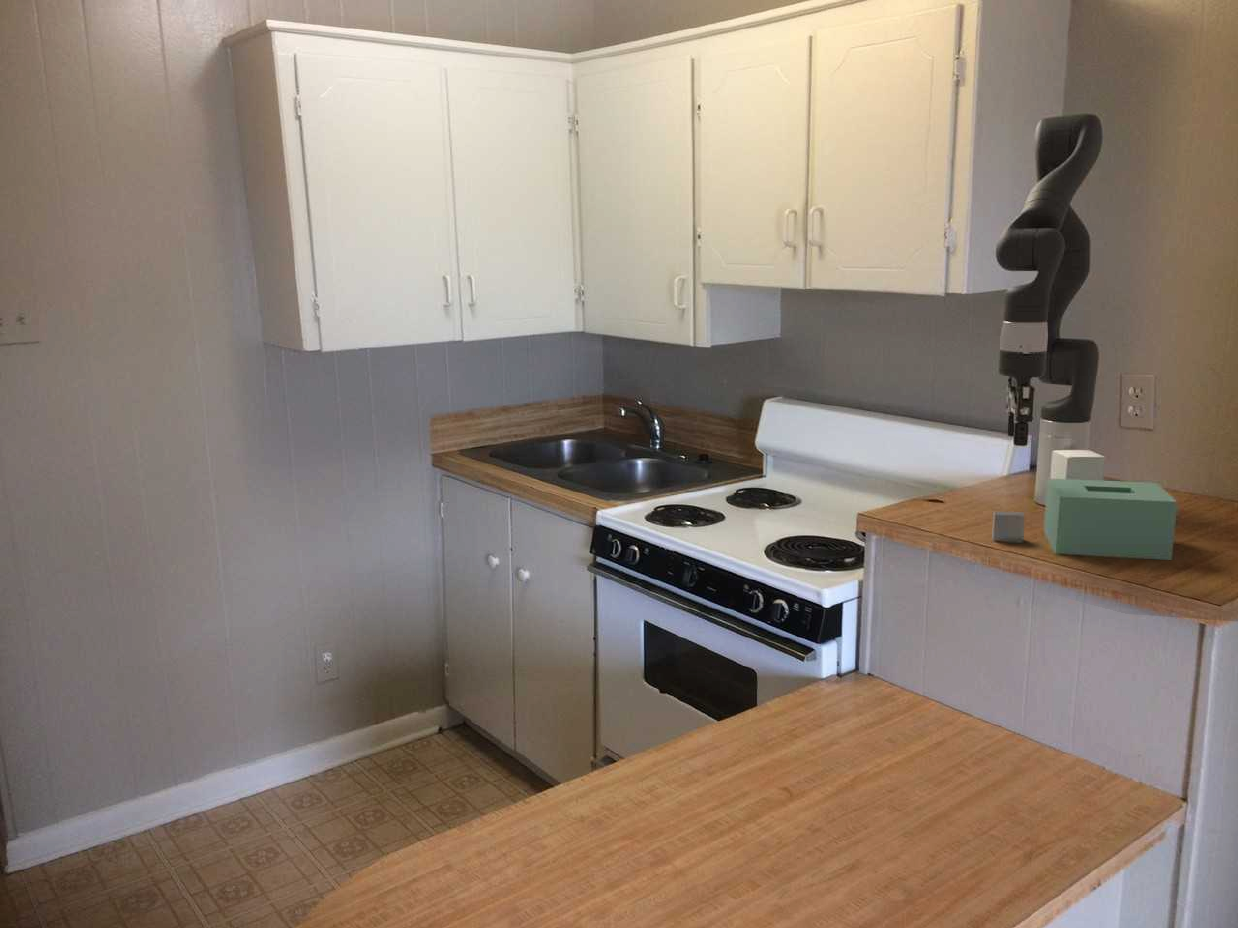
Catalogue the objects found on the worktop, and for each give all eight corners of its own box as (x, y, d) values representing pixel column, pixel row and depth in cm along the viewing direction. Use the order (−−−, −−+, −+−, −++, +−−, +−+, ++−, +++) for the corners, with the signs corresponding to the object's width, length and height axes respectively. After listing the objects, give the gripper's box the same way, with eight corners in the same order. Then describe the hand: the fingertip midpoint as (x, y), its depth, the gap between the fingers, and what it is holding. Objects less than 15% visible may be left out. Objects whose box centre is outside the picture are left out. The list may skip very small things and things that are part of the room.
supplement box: (1101, 522, 195) (1106, 456, 192) (1061, 522, 195) (1066, 457, 192) (1084, 512, 202) (1089, 449, 199) (1046, 512, 202) (1051, 449, 200)
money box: (1043, 531, 189) (1047, 478, 187) (1150, 537, 184) (1156, 482, 182) (1055, 553, 176) (1060, 496, 173) (1171, 560, 171) (1177, 501, 169)
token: (991, 537, 186) (993, 510, 185) (1021, 539, 184) (1023, 512, 183) (993, 541, 183) (995, 514, 182) (1023, 543, 182) (1025, 515, 181)
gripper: (995, 343, 184) (989, 432, 187) (1005, 352, 171) (998, 447, 174) (1040, 344, 182) (1033, 434, 186) (1053, 352, 169) (1046, 449, 172)
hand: (1016, 440), depth 180 cm, fingers open, 8 cm apart
